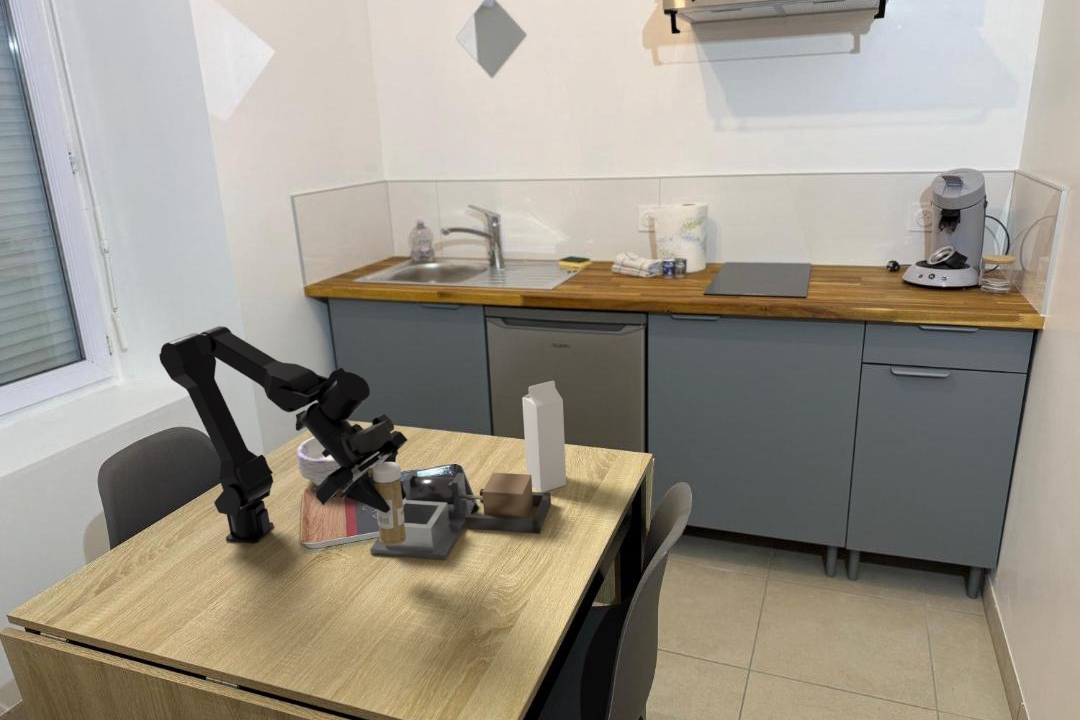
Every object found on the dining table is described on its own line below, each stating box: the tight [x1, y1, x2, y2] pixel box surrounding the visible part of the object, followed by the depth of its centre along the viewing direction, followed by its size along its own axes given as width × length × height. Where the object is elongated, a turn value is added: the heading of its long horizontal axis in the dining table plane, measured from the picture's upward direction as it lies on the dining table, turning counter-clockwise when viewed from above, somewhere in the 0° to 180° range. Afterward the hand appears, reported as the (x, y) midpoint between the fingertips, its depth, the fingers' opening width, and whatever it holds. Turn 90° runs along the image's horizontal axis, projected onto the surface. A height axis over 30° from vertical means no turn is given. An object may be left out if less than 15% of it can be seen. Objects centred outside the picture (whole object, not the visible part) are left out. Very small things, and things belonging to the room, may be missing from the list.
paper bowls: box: [296, 436, 370, 487], centre depth 168 cm, size 15×15×8 cm
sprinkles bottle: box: [371, 462, 406, 546], centre depth 131 cm, size 5×5×13 cm
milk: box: [521, 380, 567, 493], centre depth 159 cm, size 6×6×22 cm
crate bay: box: [465, 472, 552, 534], centre depth 150 cm, size 14×11×7 cm
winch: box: [369, 469, 483, 561], centre depth 146 cm, size 19×19×8 cm
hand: (396, 504), depth 130 cm, fingers closed on sprinkles bottle, 4 cm apart
